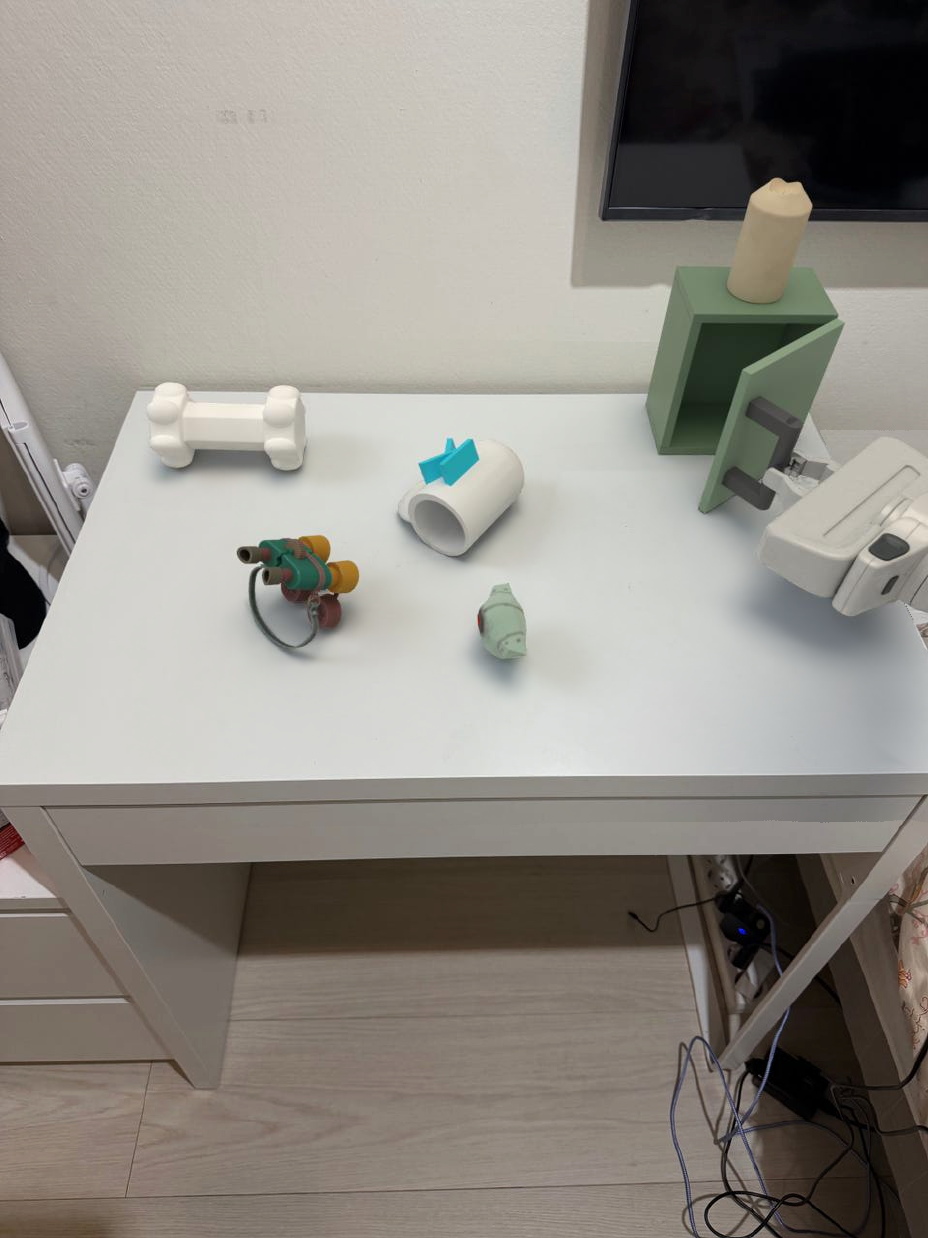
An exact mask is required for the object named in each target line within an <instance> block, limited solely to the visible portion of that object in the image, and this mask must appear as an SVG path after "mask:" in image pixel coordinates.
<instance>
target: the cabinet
mask: <svg viewBox="0 0 928 1238" xmlns="http://www.w3.org/2000/svg"><path fill="white" fill-rule="evenodd" d="M730 269H731V266H696V265H695V266H693V265H691V266H690V265H689V266H685V265H683V266H681V265H678V266H677V265H676V268H675V272H674V276H673V281H672V285H671V289H670V294H669V297H668V303H667V306H666V311H665V315H664V321H663V324H662V329H661V333H660V338H659V341H658V342H659V343H658V347H657V350H656V356H655V361H654V365H653V369H652V374H651V377H650V383H649V387H648V391H647V394H646V395H647V396H646V400H645V403H644V404H645V410H646V413H647V417H648V420H649V424H650V427H651V431H652V434H653V440H654V443H655V446H656V450H657V453H658V455H715V454H716V451H717V448H718V445H719V441H720V438H721V435H722V432H723V429H724V426H725V423H726V420H727V416H728V413H729V410H730V407H731V404H732V401H733V398H734V395H735V391H736V388H737V385H738V382H739V379H740V376H741V373H742V370H743V369H744V368H746V367H748V366H750V365H752V364H754V363H755V362H757V361H759V360H761V359H763V358H765V357H766V356H768V355H770V354H772V353H774V352H776V351H778V350H779V349H781V348H783V347H785V346H787V345H789V344H790V343H792V342H794V341H796V340H798V339H800V338H801V337H803V336H805V335H807V334H809V333H811V332H812V331H814V330H816V329H818V328H820V327H822V326H824V325H825V324H827V323H829V322H831V321H833V320H835V319H836V318H837V319H839V316H840V315H839V313H838V311H837V309H836V307H835V305H834V304H833V302H832V300H831V298H830V297H829V295H828V293H827V291H826V290H825V288H824V286H823V284H822V283H821V281H820V279H819V278H818V276H817V274H816V272H815V271H814V269H813V267H809V266H808V267H807V266H806V267H805V266H799V267H797V266H792V269H791V272H790V275H789V278H788V281H787V284H786V287H785V290H784V292H783V295H782V296H781V298H780V299H778V300H777V301H775V302H771V303H763V304H760V303H751V302H747V301H744V300H741V299H739V298H737V297H735V296H734V295H732V294H731V293H730V292H729V290H728V288H727V281H728V277H729V273H730Z"/></svg>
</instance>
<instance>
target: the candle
mask: <svg viewBox="0 0 928 1238" xmlns="http://www.w3.org/2000/svg"><path fill="white" fill-rule="evenodd" d="M812 209H813V203H812V202H811V199H810V198H809V195H808V194H807V192H806V190H805V189H804V187H803V185H802V183H801V182H799V181H793V182H786V181H785V180H783V178H780V177H774V178H772V179H771V180H770V181H769V182H767V183H765V184H764V185H763V186H761V187H760V188H758V189H757V190H756V191H754V192H753V193H752V194H751V195H750V197H749V200H748V204H747V208H746V212H745V216H744V219H743V223H742V226H741V230H740V234H739V237H738V241H737V244H736V247H735V252H734V255H733V259H732V262H731V266H730V267H731V269H730V273H729V277H728V281H727V288H728V290H729V292H730V293H731V294H732V295H734V296H735V297H737V298H739V299H741V300H744V301H747V302H751V303H760V304H763V303H771V302H775V301H777V300H778V299H780V298H781V296H782V295H783V292H784V290H785V287H786V284H787V281H788V278H789V275H790V272H791V269H792V267H794V263H795V261H796V257H797V254H798V251H799V248H800V246H801V242H802V239H803V236H804V233H805V230H806V227H807V224H808V222H809V218H810V215H811V212H812Z"/></svg>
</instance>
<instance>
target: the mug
mask: <svg viewBox="0 0 928 1238" xmlns="http://www.w3.org/2000/svg"><path fill="white" fill-rule="evenodd" d="M418 467H419V470H420V472H421V476H422V478H423V480H421V481H420V482H418V483H416V484H415V485H414V486H413V487H411V488H410V489H409V490H408V491H407V492H406V493H404V495H403V496H402V497H401V500H400V502H399V503H398V505H397V506H398V508H397V514H398V515H399V517H400V518H401V519H402V520H404V521H405V522H407V523H410V525H411V526H412V528H413V529H414V531H415V533H416V534H417V535H418V536H419V538H420V539H421V540H422V541H423V542H424V543H425V544H426V545H428V547H430V548H431V549H433V550H434V551H436V552H438V553H440V554H443V555H445V556H448V557H458V556H461V555H462V554H464V553H466V552H467V551H468V550H469V548H471V547H472V546H473V544H474V543H475V542H477V540H478V539H479V538H480V537H481V536H482V535H483V534H484V533H486V531H487V530H489V528H490V527H491V526H492V525H493V524H494V523H495V522H496V521H497V520H498V519H499V518H500V517H501V516H502V514H504V512H506V510H508V508H510V506H512V505H513V503H514V502H515V501H516V500H517V499H518V497H519V496H520V495H521V493H522V490H523V488H524V484H525V471H524V467H523V464H522V461H521V460H520V458H519V456H518V454H516V453H515V451H514V450H513V449H512V448H511V447H510V446H508V445H507V444H505V443H503V442H501V441H498V440H494V439H480V440H477V441H474V439H473V438H467V439H465V441H464V442H462V443H461V444H460V445H459V446H458V447H456V444H455V441H454V439H453V437H447V438H446V442H445V448H444V452H442V453H440V454H438V455H435V456H432V457H431V458H428V459H425V460H423V461H420V462H418Z"/></svg>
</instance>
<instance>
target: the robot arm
mask: <svg viewBox="0 0 928 1238" xmlns="http://www.w3.org/2000/svg"><path fill="white" fill-rule="evenodd" d="M799 476H802V477H805V478H809V479H812V480H817V481H818V483H817V486H815V487H813V489H810V488H808V487H806V486H805V485H800V486H799V487H798V485H796V484H795V482H794V481H793V480H792V479H791V477H792V478H794V479H796V478H798V477H799ZM762 481H763V483H764V485H766V486H767V487H769V488H771V489H772V490H774V491H775V492H776V495H777V497H778V499H779V500H780V502H781V503H782V505H783V507H784V508H785V511H783V512H782V513H781V514H779V515H778V516H777V517H775V518H774V519H773V520H771V522H769V523H768V524H767V525H766V526H765V529H764V530H763V534H762V536H761V538H760V540H759V543H758V545H757V554H758V556H759V558H760V561H761V562H762V564H764V565H765V566H766V567H767V568H769V569H770V570H771V571H773V572H774V573H776V574H777V575H779V576H780V577H782V578H783V579H785V580H787V581H788V582H790V583H791V584H793V585H795V586H796V587H798V588H800V589H801V590H803V591H805V592H807V593H810V594H811V595H814V596H817V597H822V598H829V597H833V596H834V597H833V599H832V602H831V606H832V607H833V608H834V609H835V610H836V611H837V612H838V613H840V614H841V615H843V616H846V617H855V616H858V615H860V614H863V613H866V612H868V611H870V610H873V609H877V608H879V607H882V606H886V605H889V604H892V603H893V604H894V603H895V602H897V601H898V600H899V601H901V602H902V603H905V604H906V605H907V606H909V607H910V608H912V609H914V610H917V611H920V612H923V613H926V614H928V457H927V456H925V455H924V454H923V453H921V452H919V451H918V450H916V449H915V448H913V447H912V446H910V445H908V444H907V443H905V442H903V441H902V440H900V439H898V438H895V437H890V436H879V437H876V439H874V440H873V441H872V442H870V443H869V444H868V445H866V447H865V448H863V449H862V450H861V451H859V452H858V453H857V454H855V455H854V456H853V457H852V458H851V459H849V460H848V461H847V462H845V463H844V464H841V463H839V462H837V461H835V460H834V459H829V458H828V459H827V458H821V457H815V456H809V455H807V454H806V453H804V452H802V451H800V450H799V449H794V450H793V453H792V455H791V457H790V460H789V462H788V465H787V467H786V468H785V467H783V466H782V465H781V464H778V463H777V464H775V465H773V466H772V467H771V468H769V469H768V470H767V471H766V472H765V474H764V477H762V480H761V482H762Z"/></svg>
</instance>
